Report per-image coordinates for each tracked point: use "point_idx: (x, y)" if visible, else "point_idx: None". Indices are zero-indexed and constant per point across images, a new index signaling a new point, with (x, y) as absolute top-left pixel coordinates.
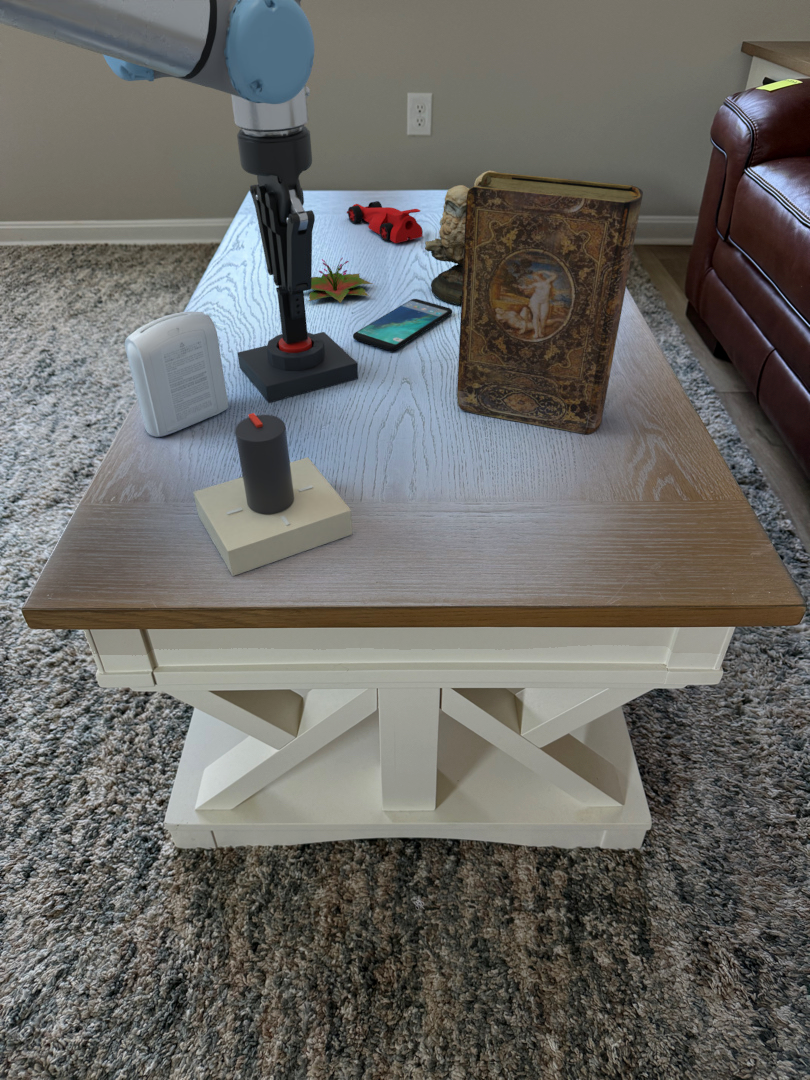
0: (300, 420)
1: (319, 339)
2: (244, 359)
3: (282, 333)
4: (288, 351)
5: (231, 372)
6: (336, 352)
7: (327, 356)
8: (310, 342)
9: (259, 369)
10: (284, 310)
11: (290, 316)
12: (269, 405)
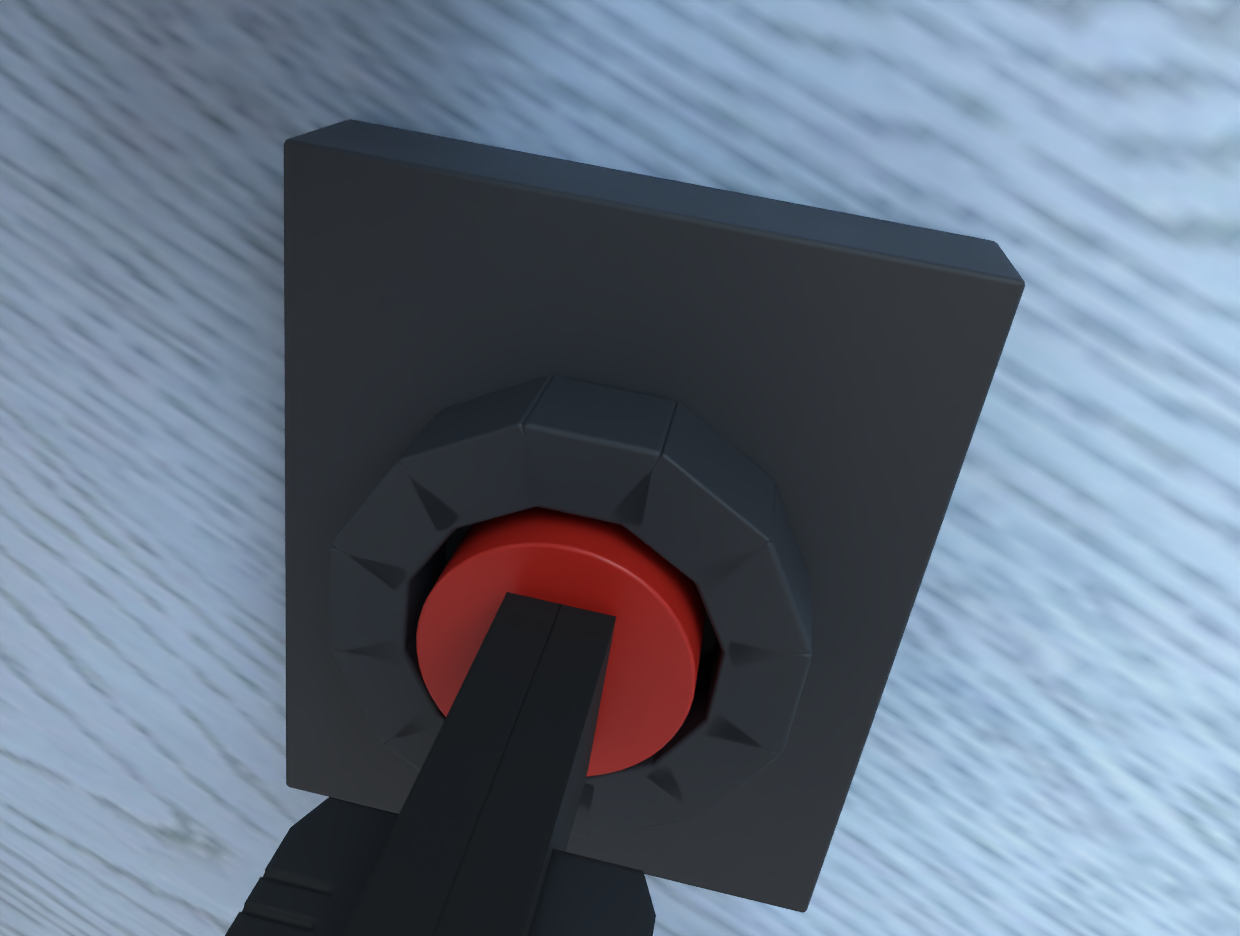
0: (33, 170)
1: None
2: (847, 258)
3: (596, 652)
4: (474, 544)
5: (990, 145)
6: None
7: None
8: None
9: (588, 260)
10: (389, 847)
11: (386, 822)
12: (315, 106)
